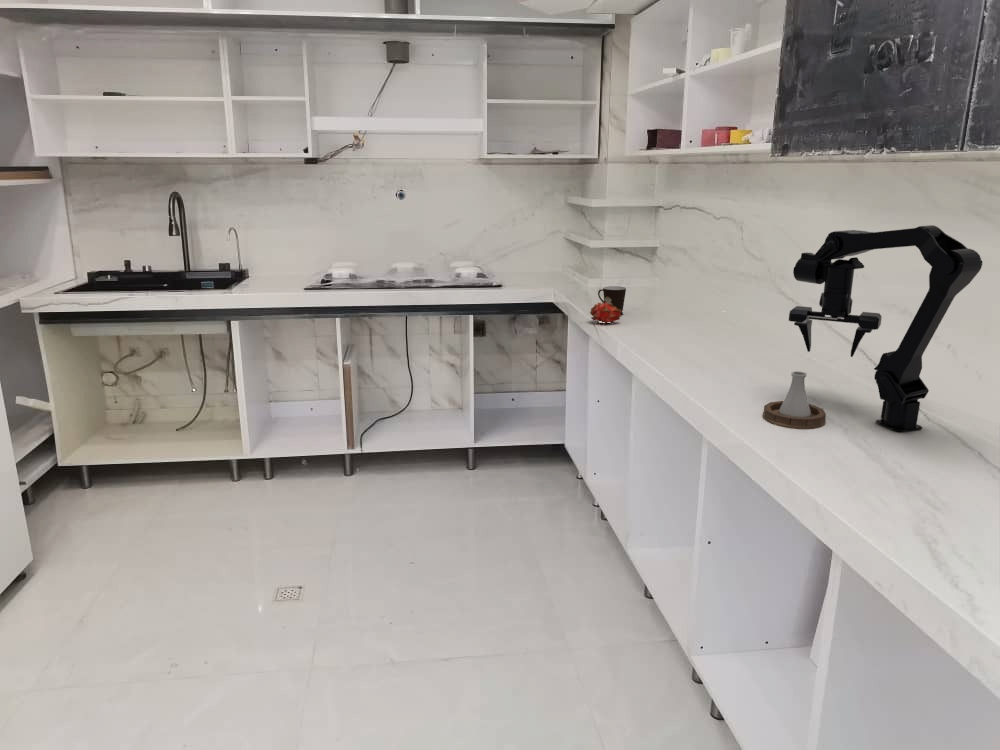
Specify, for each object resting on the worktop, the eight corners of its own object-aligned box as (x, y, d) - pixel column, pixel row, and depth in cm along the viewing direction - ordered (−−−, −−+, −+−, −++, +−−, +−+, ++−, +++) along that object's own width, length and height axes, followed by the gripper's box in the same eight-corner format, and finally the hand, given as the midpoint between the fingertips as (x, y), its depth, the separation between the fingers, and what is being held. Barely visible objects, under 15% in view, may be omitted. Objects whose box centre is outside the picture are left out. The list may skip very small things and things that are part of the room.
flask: (784, 408, 166) (788, 366, 163) (816, 415, 161) (821, 372, 158) (771, 416, 161) (776, 373, 158) (804, 424, 156) (810, 379, 153)
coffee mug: (628, 315, 273) (630, 289, 270) (607, 317, 271) (608, 290, 268) (616, 309, 284) (617, 284, 281) (595, 311, 281) (596, 285, 279)
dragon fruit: (586, 327, 261) (619, 332, 261) (590, 317, 253) (624, 322, 253) (589, 306, 264) (621, 310, 264) (592, 295, 256) (626, 300, 256)
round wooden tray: (838, 425, 157) (840, 415, 156) (787, 431, 153) (788, 422, 153) (798, 406, 169) (799, 398, 168) (750, 412, 165) (751, 403, 165)
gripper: (888, 285, 165) (879, 351, 169) (801, 279, 175) (795, 342, 179) (882, 292, 156) (872, 362, 161) (791, 285, 166) (784, 351, 170)
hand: (830, 353), depth 168 cm, fingers open, 9 cm apart
